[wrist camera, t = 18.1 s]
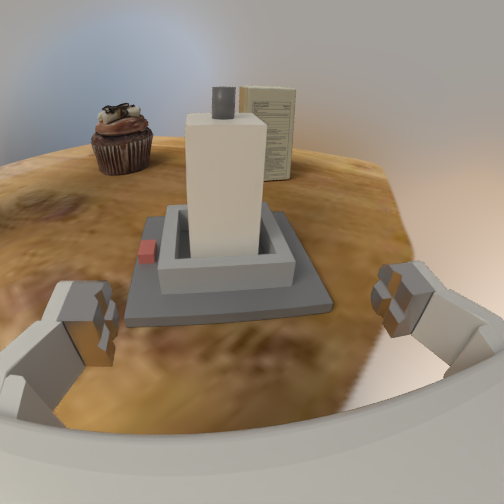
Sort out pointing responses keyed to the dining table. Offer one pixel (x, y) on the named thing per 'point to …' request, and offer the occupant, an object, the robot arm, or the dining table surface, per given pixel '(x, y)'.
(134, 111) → the cupcake
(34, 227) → the dining table surface
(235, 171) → the plug
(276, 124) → the skincare box
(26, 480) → the robot arm
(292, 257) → the socket plate
